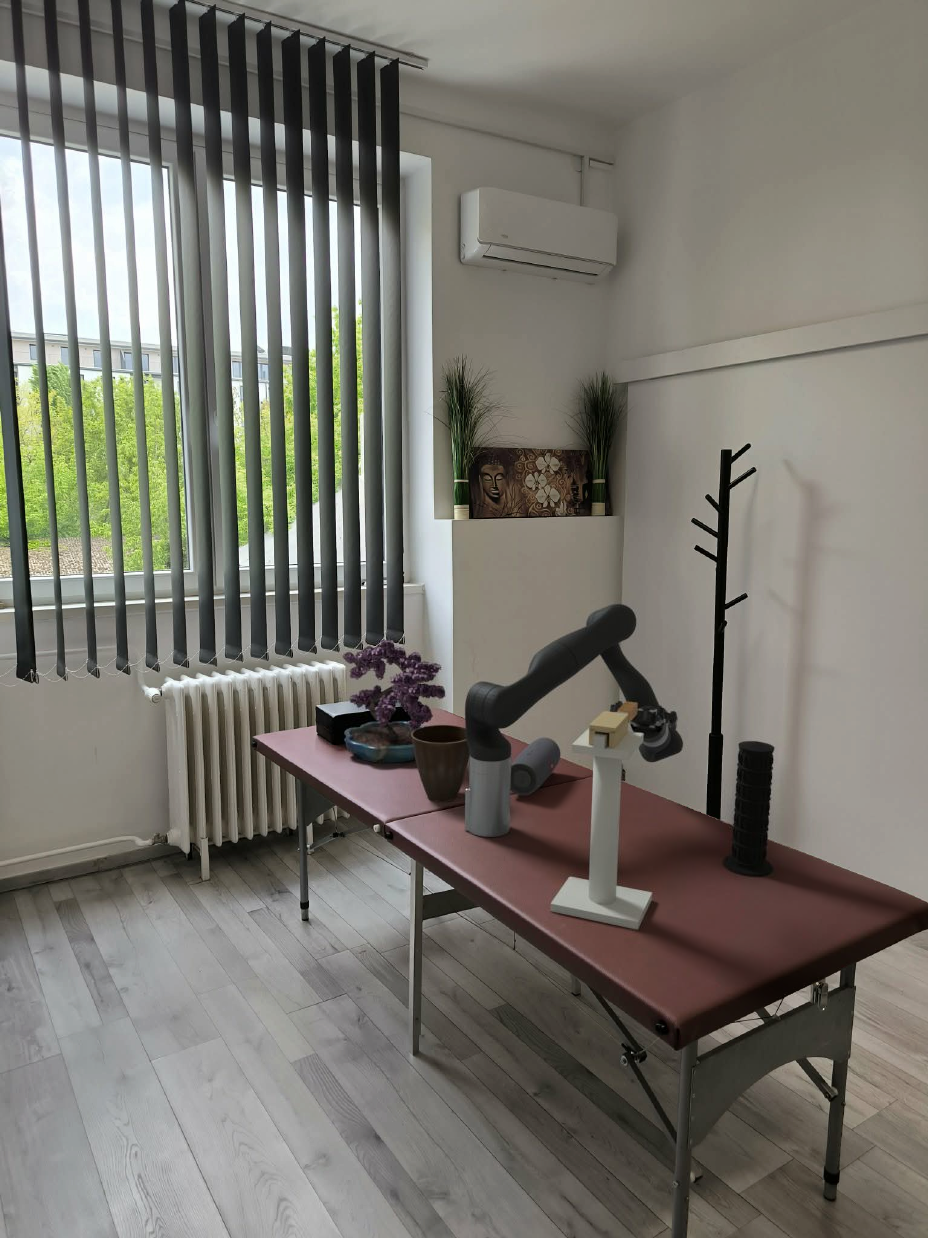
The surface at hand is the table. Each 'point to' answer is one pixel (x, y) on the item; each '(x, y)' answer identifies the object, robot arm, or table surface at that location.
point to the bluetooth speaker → (534, 766)
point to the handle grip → (752, 810)
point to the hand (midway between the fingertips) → (638, 707)
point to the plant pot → (441, 759)
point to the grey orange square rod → (603, 738)
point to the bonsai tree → (390, 703)
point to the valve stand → (605, 833)
